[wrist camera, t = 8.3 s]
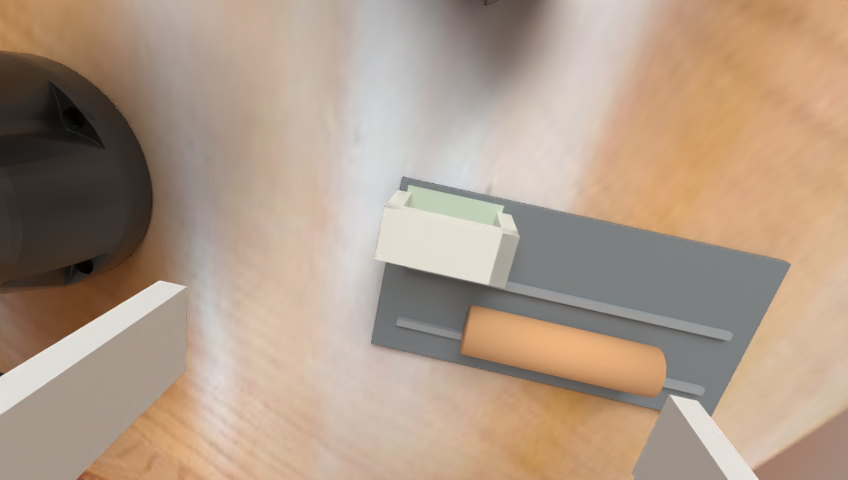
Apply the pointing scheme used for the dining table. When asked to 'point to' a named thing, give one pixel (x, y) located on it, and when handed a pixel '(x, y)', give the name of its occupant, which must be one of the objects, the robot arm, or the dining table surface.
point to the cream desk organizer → (447, 243)
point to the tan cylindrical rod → (563, 351)
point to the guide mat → (589, 294)
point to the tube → (488, 2)
